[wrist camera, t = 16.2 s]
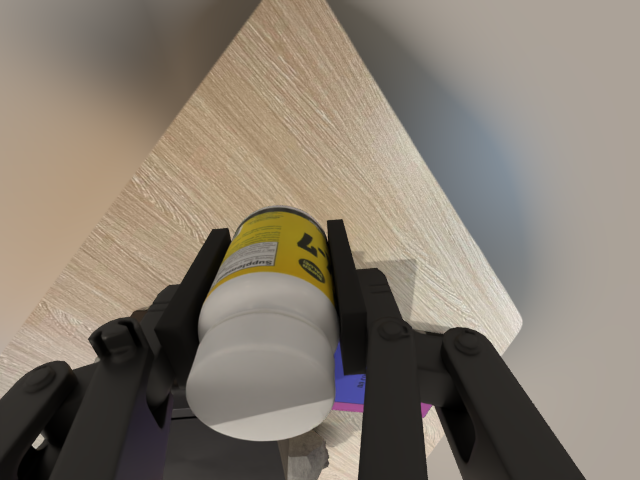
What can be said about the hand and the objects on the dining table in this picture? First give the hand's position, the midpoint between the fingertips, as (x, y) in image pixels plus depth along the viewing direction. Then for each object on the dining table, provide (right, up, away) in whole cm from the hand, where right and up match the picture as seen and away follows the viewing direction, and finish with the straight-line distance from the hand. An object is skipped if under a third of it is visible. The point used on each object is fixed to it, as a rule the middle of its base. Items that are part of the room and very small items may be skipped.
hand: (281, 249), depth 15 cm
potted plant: (-3, -45, +55) cm, 71 cm away
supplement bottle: (0, 0, 0) cm, 1 cm away
